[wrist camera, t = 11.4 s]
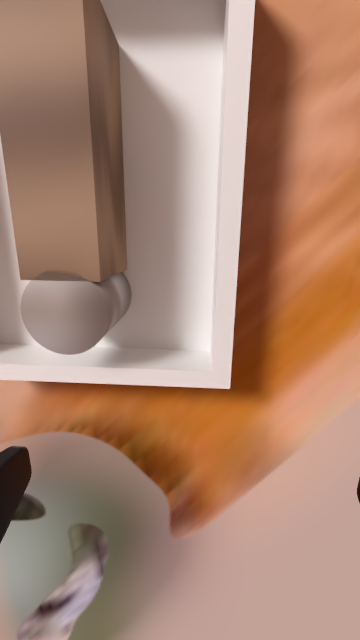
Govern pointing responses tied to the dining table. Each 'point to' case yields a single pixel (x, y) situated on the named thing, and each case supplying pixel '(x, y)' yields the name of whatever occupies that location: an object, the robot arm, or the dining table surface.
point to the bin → (162, 203)
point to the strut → (64, 168)
